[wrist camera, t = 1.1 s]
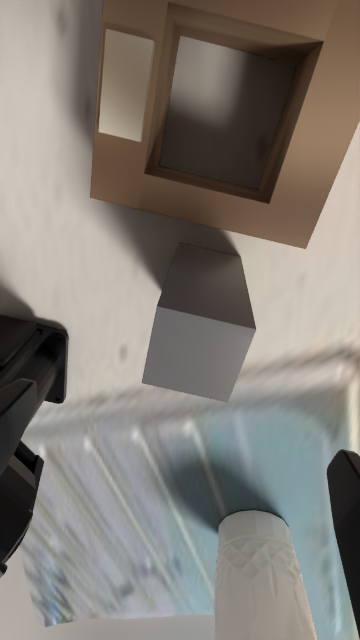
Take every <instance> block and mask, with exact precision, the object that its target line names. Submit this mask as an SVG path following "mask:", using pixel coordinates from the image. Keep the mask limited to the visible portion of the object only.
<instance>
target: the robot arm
mask: <svg viewBox="0 0 360 640" xmlns="http://www.w3.org/2000/svg"><path fill="white" fill-rule="evenodd" d="M58 336H61V337H62V339H60V338H59V337H58ZM68 340H69V337H68V334H67V333H66V332H65V331H64V330H61V329H56V328H52V327H48V326H43V325H39V324H35V323H32V322H28V321H23V320H19V319H15V318H10V317H6V316H2V315H0V577H2V575H4V573H5V572H6V570H7V565H5V563H6V562H7V560H8V559H9V558H10V557H11V556H12V555H13V553H14V552H15V551H16V549H17V548H18V546H19V545H20V543H21V542H22V540H23V538H24V536H25V534H26V532H27V530H28V527H29V524H30V522H31V520H32V516H33V508H34V504H35V499H36V495H37V490H38V486H39V482H40V477H41V473H42V468H43V464H44V460H43V459H42V458H41V457H40V456H39V455H35V454H34V453H33V452H32V451H31V450H30V449H29V448H28V447H27V446H26V445H25V444H24V443H23V442H22V441H21V440H20V439H21V437H22V435H23V433H24V431H25V429H26V427H27V426H28V424H29V423H30V421H31V420H32V418H33V417H34V415H35V414H36V412H37V410H38V409H39V407H40V406H41V404H42V403H43V401H48V402H53V403H57V404H60V403H63V402H64V400H65V398H66V384H67V362H68ZM57 396H58V397H57ZM59 397H60V398H59ZM327 479H328V487H329V495H330V502H331V510H332V518H333V524H334V530H335V535H336V539H337V544H338V548H339V552H340V557H341V561H342V565H343V569H344V574H345V578H346V582H347V587H348V591H349V595H350V600H351V604H352V608H353V613H354V617H355V621H356V626H357V630H358V634H359V638H360V456H359V455H358V454H357V453H355V452H353V451H348V450H344V449H341V450H339V451H338V452H337V454H336V455H335V457H334V458H333V460H332V461H331V463H330V464H329V466H328V468H327Z"/></svg>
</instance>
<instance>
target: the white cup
mask: <svg viewBox="0 0 360 640" xmlns="http://www.w3.org/2000/svg"><path fill="white" fill-rule="evenodd" d="M213 618H214V619H213V640H317V636H316V632H315V627H314V623H313V619H312V615H311V610H310V606H309V602H308V598H307V594H306V590H305V587H304V584H303V580H302V574H301V570H300V567H299V564H298V561H297V558H296V556H295V550H294V546H293V541H292V537H291V532H290V529H289V527H288V526H287V525H286V523H285V522H284V520H283V519H281V518H279V517H277V516H275V515H273V514H271V513H268V512H262V511H256V510H251V511H240V512H236V513H234V514H231V515H229V516H227V517H225V518H224V520H223V521H222V522H221V523H220V524H219V531H218V556H217V560H216V573H215V590H214V617H213Z"/></svg>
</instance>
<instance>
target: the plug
mask: <svg viewBox="0 0 360 640" xmlns="http://www.w3.org/2000/svg"><path fill="white" fill-rule="evenodd" d="M255 331H256V326H255V322H254V317H253V312H252V308H251V303H250V298H249V293H248V289H247V284H246V279H245V275H244V270H243V265H242V261H241V257H239V256H234V255H230V254H226V253H222V252H217V251H213V250H209V249H205V248H201V247H196V246H192V245H188V244H184V243H179V244H178V246H177V249H176V252H175V255H174V258H173V261H172V264H171V267H170V270H169V272H168V275H167V278H166V281H165V284H164V287H163V290H162V293H161V296H160V299H159V301H158V304H157V308H156V313H155V318H154V323H153V328H152V333H151V338H150V343H149V348H148V353H147V358H146V364H145V369H144V374H143V379H142V383H144V384H149V385H153V386H157V387H162V388H166V389H171V390H175V391H179V392H184V393H188V394H193V395H197V396H201V397H206V398H210V399H215V400H219V401H223V402H228V400H229V398H230V395H231V393H232V390H233V388H234V385H235V382H236V380H237V377H238V375H239V372H240V370H241V367H242V364H243V362H244V359H245V357H246V354H247V352H248V349H249V346H250V344H251V341H252V339H253V336H254V334H255Z"/></svg>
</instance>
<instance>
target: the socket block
mask: <svg viewBox="0 0 360 640" xmlns="http://www.w3.org/2000/svg"><path fill="white" fill-rule="evenodd" d="M180 35H181V36H185V37H189V38H193V39H197V40H201V41H205V42H209V43H213V44H217V45H221V46H225V47H229V48H233V49H237V50H241V51H245V52H249V53H253V54H257V55H260V56H264V57H268V58H272V59H276V60H280V61H284V62H288V63H292V64H296V65H297V67H296V70H295V74H294V77H293V80H292V83H291V86H290V90H289V93H288V96H287V99H286V102H285V106H284V109H283V112H282V115H281V118H280V122H279V125H278V128H277V131H276V134H275V138H274V141H273V144H272V147H271V150H270V154H269V157H268V160H267V163H266V166H265V170H264V173H263V176H262V179H261V182H260V186H259V189H258V190H255V189H251V188H247V187H243V186H239V185H235V184H230V183H226V182H222V181H218V180H214V179H210V178H206V177H201V176H197V175H193V174H189V173H185V172H181V171H177V170H173V169H168V168H164V167H160V166H159V162H160V156H161V149H162V143H163V137H164V131H165V125H166V118H167V112H168V106H169V100H170V94H171V87H172V81H173V75H174V69H175V63H176V56H177V50H178V44H179V38H180ZM359 121H360V0H103V12H102V27H101V42H100V57H99V72H98V86H97V101H96V116H95V131H94V146H93V161H92V176H91V191H90V198H94V199H98V200H102V201H106V202H110V203H115V204H119V205H123V206H127V207H131V208H136V209H140V210H144V211H148V212H152V213H156V214H161V215H165V216H169V217H173V218H177V219H182V220H186V221H190V222H194V223H198V224H203V225H207V226H211V227H215V228H219V229H224V230H228V231H232V232H236V233H240V234H245V235H249V236H253V237H257V238H261V239H266V240H270V241H274V242H278V243H282V244H287V245H291V246H295V247H299V248H303V249H306V247H307V245H308V243H309V240H310V238H311V235H312V233H313V231H314V228H315V226H316V223H317V221H318V219H319V216H320V214H321V212H322V209H323V207H324V204H325V202H326V200H327V197H328V195H329V192H330V190H331V188H332V185H333V183H334V180H335V178H336V176H337V173H338V171H339V169H340V166H341V164H342V161H343V159H344V157H345V154H346V152H347V149H348V147H349V145H350V142H351V140H352V137H353V135H354V133H355V130H356V128H357V125H358V123H359Z"/></svg>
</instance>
